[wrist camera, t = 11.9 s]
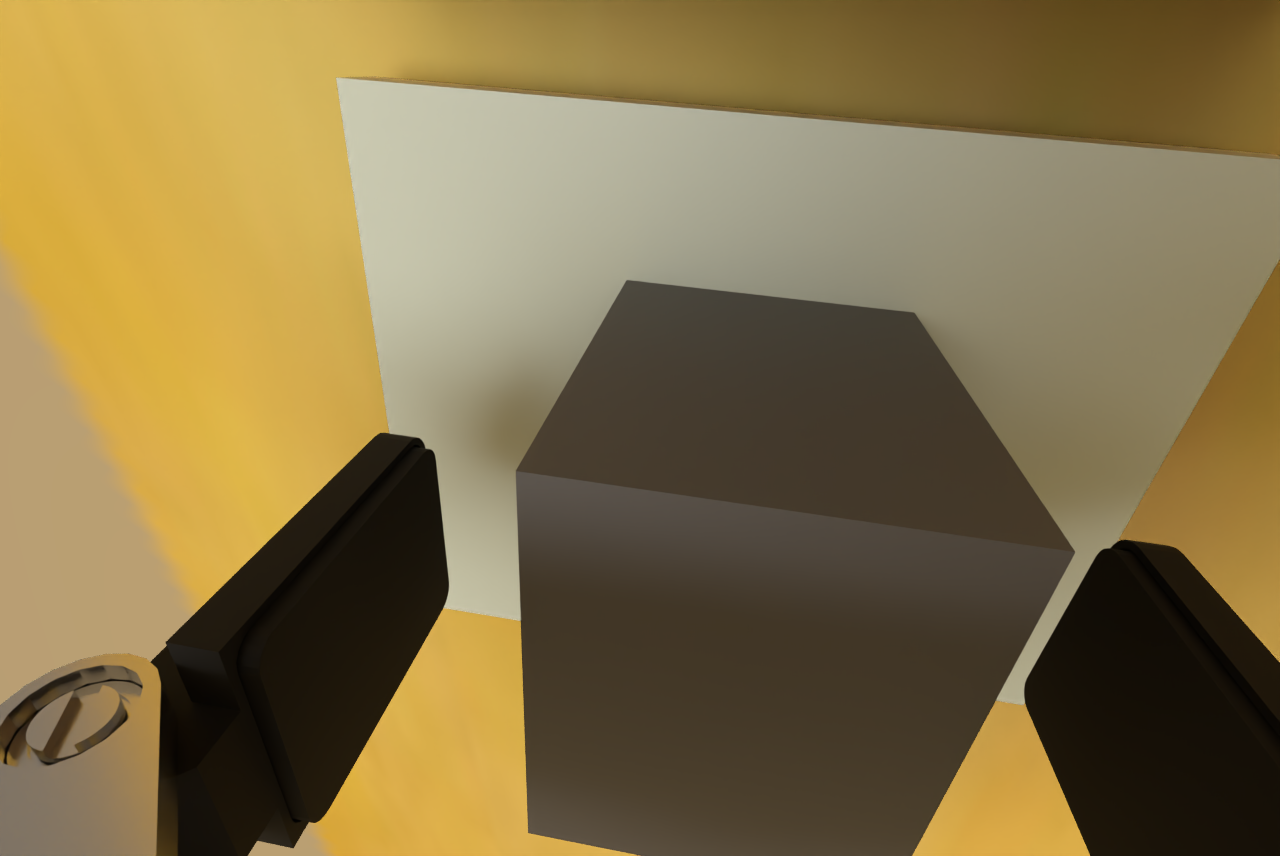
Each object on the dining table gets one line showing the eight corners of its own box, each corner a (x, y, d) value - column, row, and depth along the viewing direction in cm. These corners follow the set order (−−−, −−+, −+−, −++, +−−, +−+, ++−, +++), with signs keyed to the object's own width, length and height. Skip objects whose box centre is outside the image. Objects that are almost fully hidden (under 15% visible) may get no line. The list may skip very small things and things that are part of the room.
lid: (1229, 146, 11) (2206, 306, 3) (990, 630, 16) (1177, 1064, 9) (401, 76, 12) (-108, 87, 5) (450, 545, 18) (250, 865, 11)
